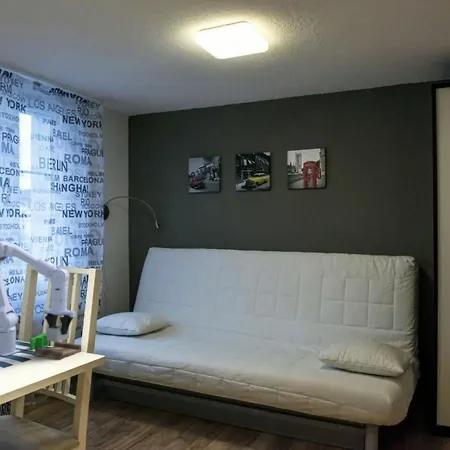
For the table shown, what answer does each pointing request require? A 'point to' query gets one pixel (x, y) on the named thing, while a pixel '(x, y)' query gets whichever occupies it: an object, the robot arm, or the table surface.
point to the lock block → (56, 333)
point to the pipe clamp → (39, 341)
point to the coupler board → (58, 350)
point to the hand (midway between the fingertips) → (58, 333)
